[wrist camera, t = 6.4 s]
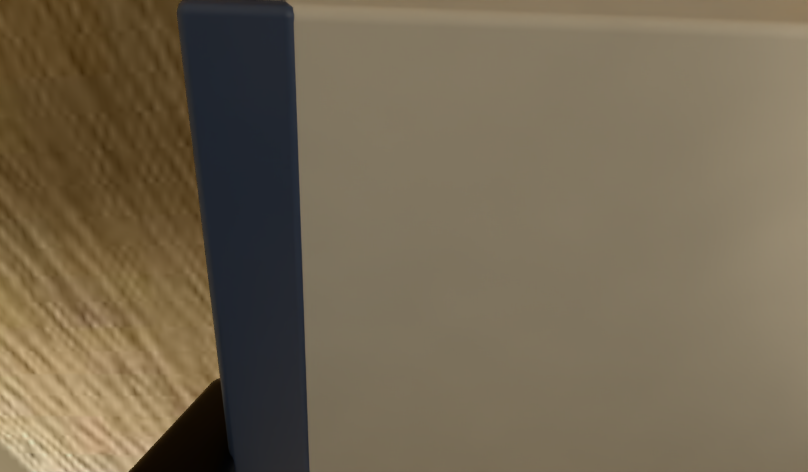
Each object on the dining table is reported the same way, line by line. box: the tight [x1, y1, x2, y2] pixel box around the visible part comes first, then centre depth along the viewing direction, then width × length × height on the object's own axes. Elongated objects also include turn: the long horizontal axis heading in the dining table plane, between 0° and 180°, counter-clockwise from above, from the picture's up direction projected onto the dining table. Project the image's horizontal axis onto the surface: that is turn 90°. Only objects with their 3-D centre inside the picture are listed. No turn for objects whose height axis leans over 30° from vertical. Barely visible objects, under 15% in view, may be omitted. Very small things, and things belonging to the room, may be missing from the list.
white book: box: [177, 0, 808, 472], centre depth 8 cm, size 6×9×3 cm
